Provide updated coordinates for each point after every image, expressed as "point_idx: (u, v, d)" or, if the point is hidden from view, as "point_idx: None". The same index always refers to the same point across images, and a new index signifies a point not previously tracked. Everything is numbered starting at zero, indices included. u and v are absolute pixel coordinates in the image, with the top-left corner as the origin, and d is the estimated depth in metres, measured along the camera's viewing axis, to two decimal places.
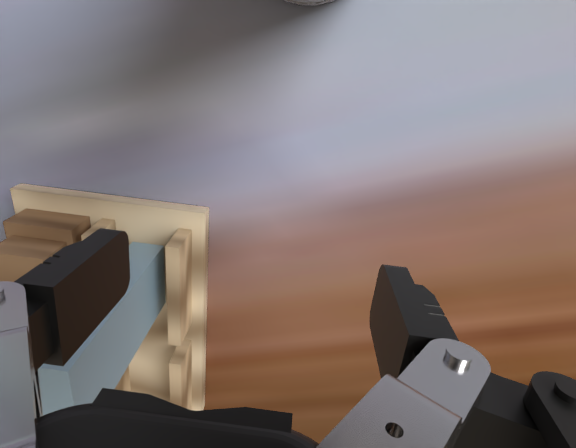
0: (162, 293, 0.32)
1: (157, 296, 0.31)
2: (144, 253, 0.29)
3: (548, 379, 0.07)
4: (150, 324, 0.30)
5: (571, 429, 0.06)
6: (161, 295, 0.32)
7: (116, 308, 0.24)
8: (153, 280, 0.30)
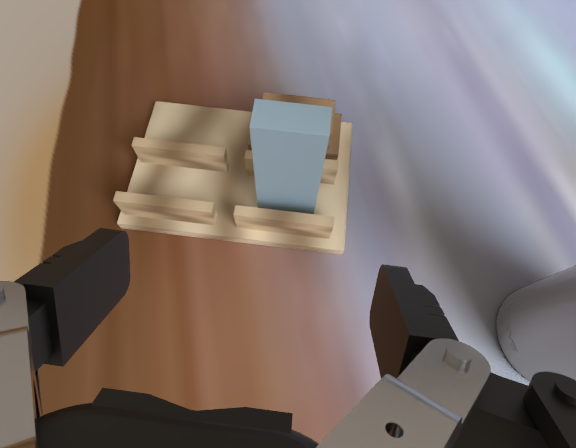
0: (272, 207, 0.38)
1: (276, 203, 0.37)
2: None
3: (548, 379, 0.07)
4: (259, 194, 0.36)
5: (571, 429, 0.06)
6: (271, 207, 0.38)
7: (321, 173, 0.31)
8: (296, 203, 0.36)
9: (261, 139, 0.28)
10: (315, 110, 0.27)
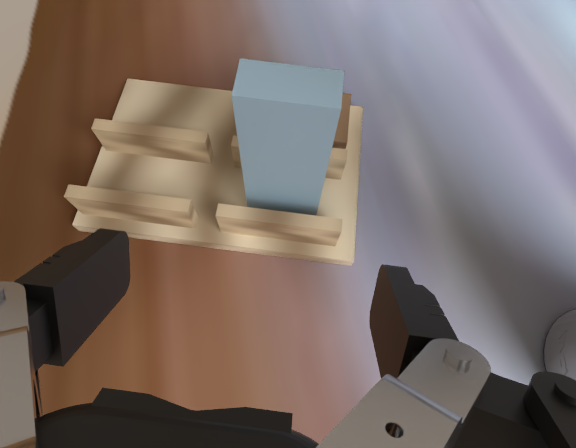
0: (265, 207, 0.31)
1: (269, 202, 0.30)
2: None
3: (548, 379, 0.07)
4: (249, 189, 0.28)
5: (571, 429, 0.06)
6: (263, 206, 0.31)
7: None
8: (294, 202, 0.29)
9: (248, 113, 0.21)
10: (321, 74, 0.20)
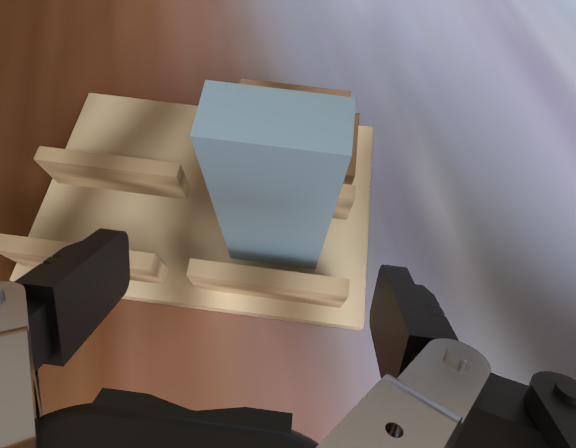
0: (252, 257, 0.24)
1: (257, 253, 0.24)
2: None
3: (548, 379, 0.07)
4: (230, 240, 0.22)
5: (571, 429, 0.06)
6: (250, 256, 0.24)
7: (331, 217, 0.18)
8: (288, 254, 0.23)
9: (217, 159, 0.14)
10: (323, 103, 0.14)
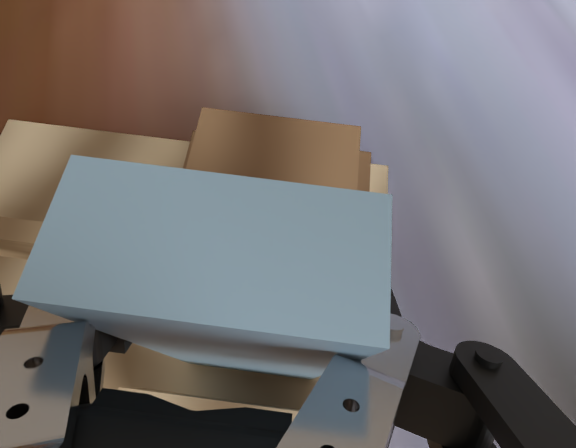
0: (218, 366, 0.17)
1: (224, 366, 0.16)
2: None
3: (468, 348, 0.08)
4: (180, 358, 0.15)
5: (494, 392, 0.07)
6: (215, 366, 0.17)
7: None
8: (269, 371, 0.15)
9: (100, 321, 0.07)
10: (322, 210, 0.06)
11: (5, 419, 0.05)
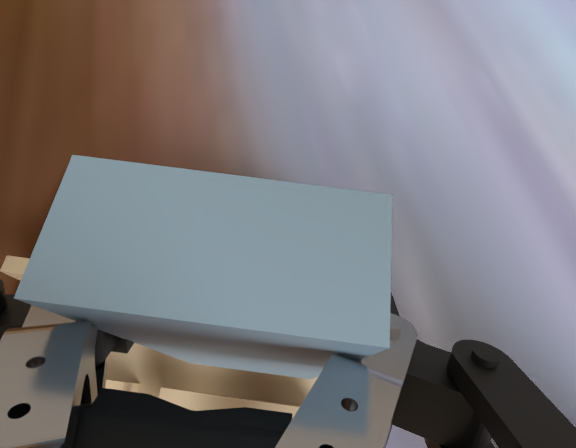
0: (219, 366, 0.17)
1: (225, 365, 0.16)
2: None
3: (466, 347, 0.08)
4: (180, 357, 0.15)
5: (491, 391, 0.07)
6: (216, 365, 0.17)
7: None
8: (270, 371, 0.15)
9: (102, 320, 0.07)
10: (322, 210, 0.06)
11: (6, 418, 0.05)
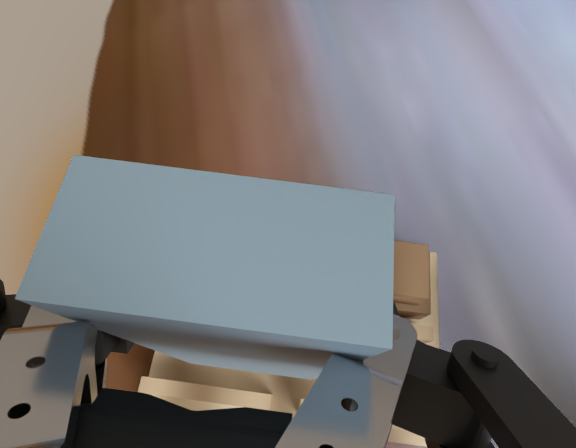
0: (220, 366, 0.17)
1: (225, 366, 0.16)
2: None
3: (465, 347, 0.08)
4: (181, 358, 0.15)
5: (491, 391, 0.07)
6: (216, 366, 0.17)
7: None
8: (270, 371, 0.15)
9: (103, 320, 0.07)
10: (324, 211, 0.06)
11: (6, 418, 0.05)
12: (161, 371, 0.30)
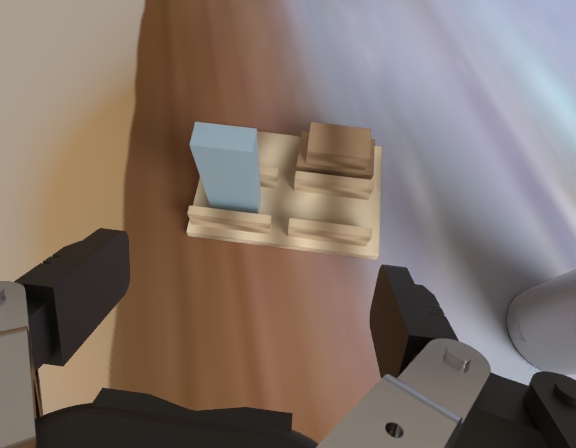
0: (222, 208, 0.45)
1: (225, 205, 0.44)
2: (258, 202, 0.45)
3: (548, 379, 0.07)
4: (210, 197, 0.43)
5: (571, 429, 0.06)
6: (221, 208, 0.45)
7: (254, 181, 0.38)
8: (241, 205, 0.43)
9: (201, 154, 0.35)
10: (243, 131, 0.34)
11: None
12: None
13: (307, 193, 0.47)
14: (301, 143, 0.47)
